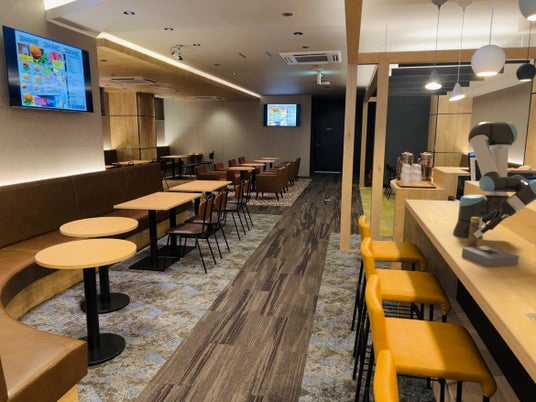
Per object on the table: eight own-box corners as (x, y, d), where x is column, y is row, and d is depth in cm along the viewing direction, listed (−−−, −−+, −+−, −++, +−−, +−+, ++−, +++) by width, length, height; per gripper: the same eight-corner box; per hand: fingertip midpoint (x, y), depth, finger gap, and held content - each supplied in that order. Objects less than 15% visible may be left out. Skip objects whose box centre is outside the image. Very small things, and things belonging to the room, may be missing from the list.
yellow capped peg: (472, 246, 201) (475, 216, 198) (478, 249, 197) (481, 218, 194) (465, 247, 200) (469, 217, 197) (471, 249, 196) (475, 218, 193)
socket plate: (489, 253, 190) (490, 245, 190) (517, 264, 175) (518, 256, 174) (461, 255, 186) (462, 247, 185) (488, 267, 171) (489, 258, 170)
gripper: (523, 216, 176) (482, 244, 184) (511, 206, 199) (475, 232, 207) (511, 204, 177) (471, 232, 185) (501, 196, 200) (465, 221, 208)
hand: (473, 232), depth 196 cm, fingers open, 13 cm apart
